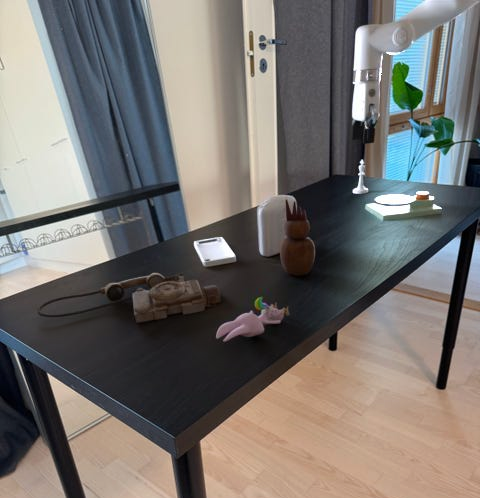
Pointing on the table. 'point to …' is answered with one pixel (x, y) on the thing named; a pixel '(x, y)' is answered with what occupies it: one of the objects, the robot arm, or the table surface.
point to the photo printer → (272, 223)
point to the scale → (405, 209)
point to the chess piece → (361, 181)
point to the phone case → (214, 252)
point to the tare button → (422, 195)
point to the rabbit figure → (252, 321)
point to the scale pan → (394, 200)
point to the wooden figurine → (297, 243)
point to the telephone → (154, 297)
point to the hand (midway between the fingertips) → (362, 141)
